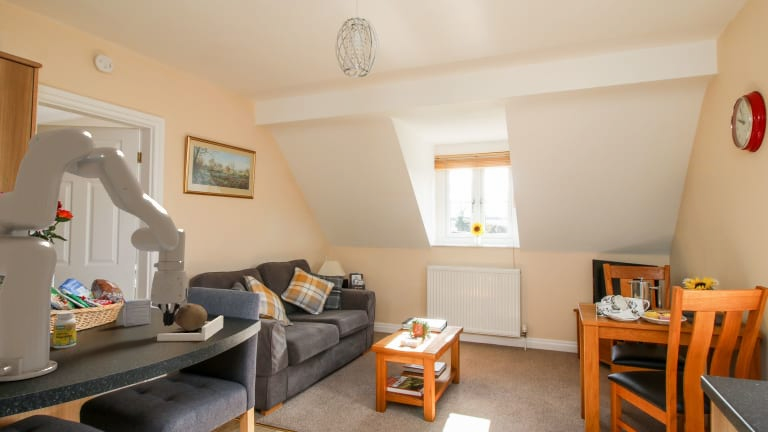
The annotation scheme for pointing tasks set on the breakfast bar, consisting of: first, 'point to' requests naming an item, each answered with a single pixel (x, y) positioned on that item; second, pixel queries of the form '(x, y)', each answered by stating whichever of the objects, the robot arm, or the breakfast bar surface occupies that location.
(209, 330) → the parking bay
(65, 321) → the supplement bottle
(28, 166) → the robot arm
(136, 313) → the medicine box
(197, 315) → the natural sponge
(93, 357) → the breakfast bar surface
